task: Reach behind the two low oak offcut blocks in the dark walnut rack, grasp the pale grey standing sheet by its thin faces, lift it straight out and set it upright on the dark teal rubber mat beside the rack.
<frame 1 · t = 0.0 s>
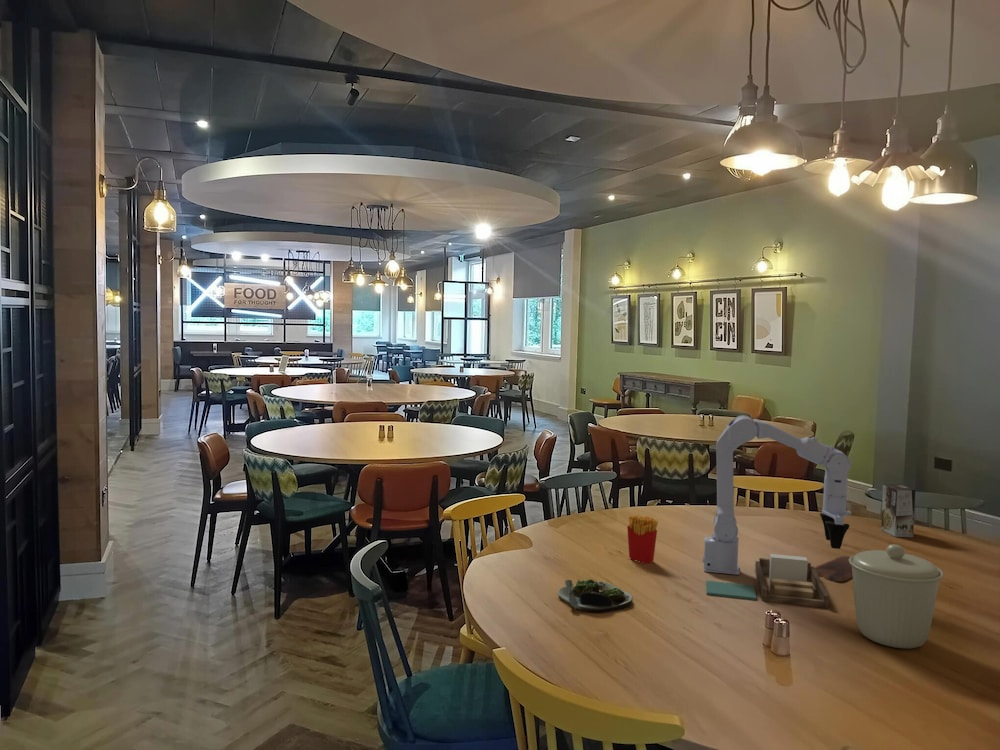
hand: (833, 544, 189), 10 cm above the table, tool pointing down, fingers open, 7 cm apart
french fries: (642, 560, 205), on the table
offcut block small: (792, 600, 176), resting in rack
grey sheet: (787, 584, 186), resting in rack
offcut block large: (791, 595, 179), resting in rack
salad plate: (594, 602, 173), on the table
coffee box: (896, 534, 236), on the table
mat: (730, 591, 181), on the table
wooden tablet: (842, 570, 200), on the table
canister: (891, 639, 154), on the table
rack: (789, 588, 183), on the table
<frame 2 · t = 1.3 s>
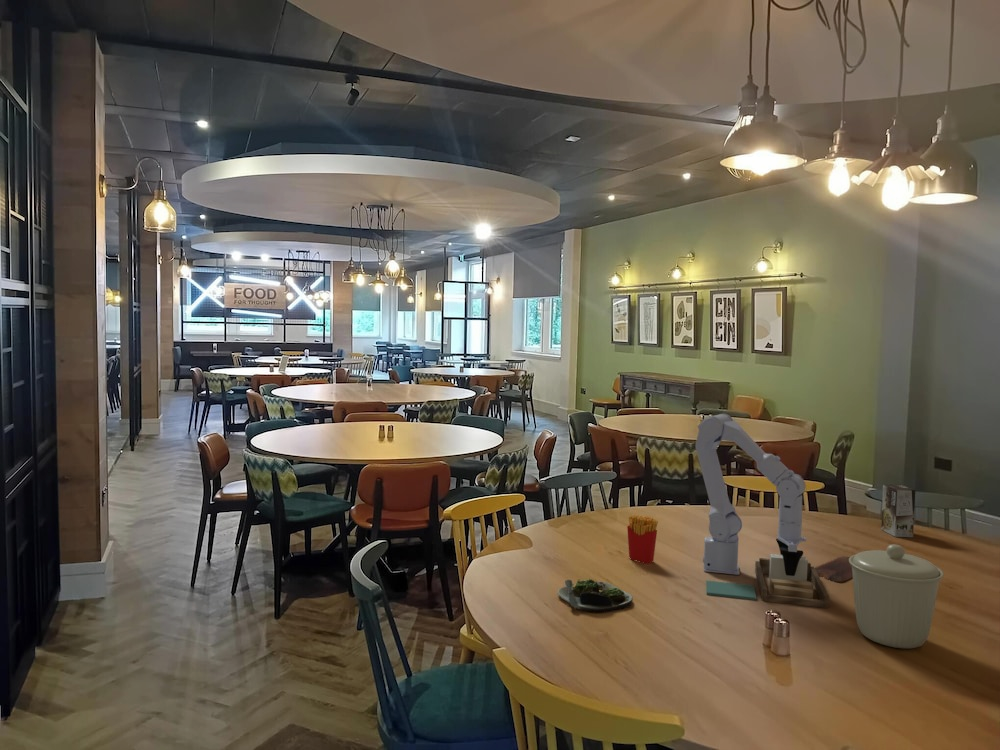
hand: (788, 570, 186), 4 cm above the table, tool pointing down, fingers open, 7 cm apart
nothing on the table moved.
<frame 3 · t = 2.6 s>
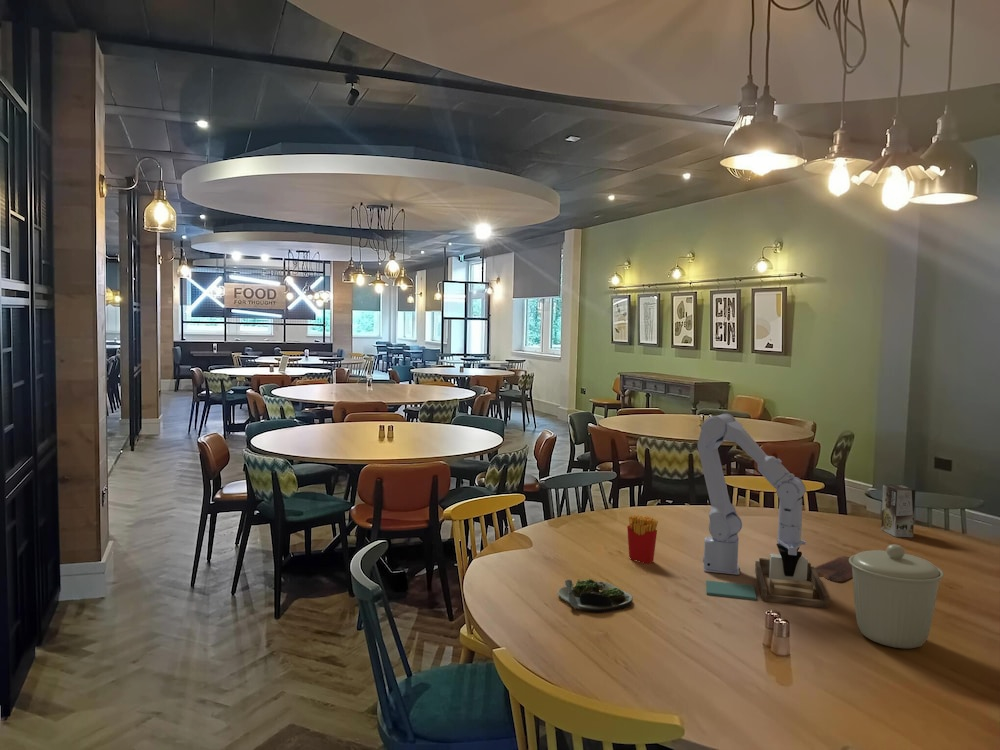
hand: (788, 573, 186), 3 cm above the table, tool pointing down, fingers closed on grey sheet, 3 cm apart
grey sheet: (787, 584, 186), resting in rack, touching gripper
everything else where it was.
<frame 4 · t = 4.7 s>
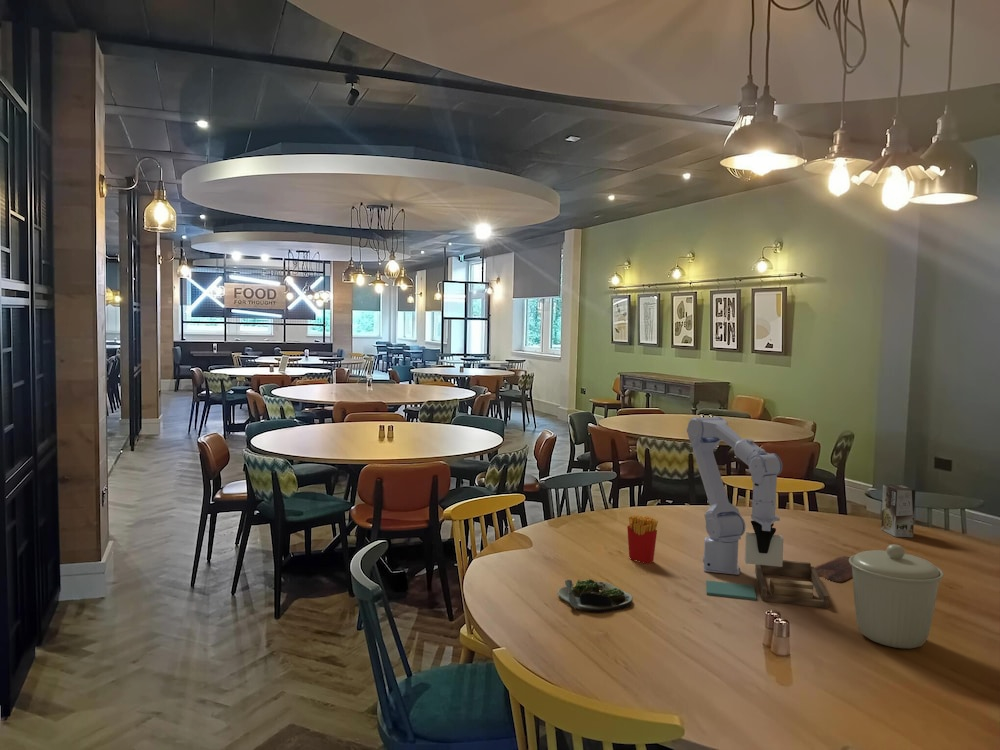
hand: (762, 550, 183), 10 cm above the table, tool pointing down, fingers closed on grey sheet, 3 cm apart
grey sheet: (763, 563, 183), point 7 cm above the table, touching gripper
everything else where it was.
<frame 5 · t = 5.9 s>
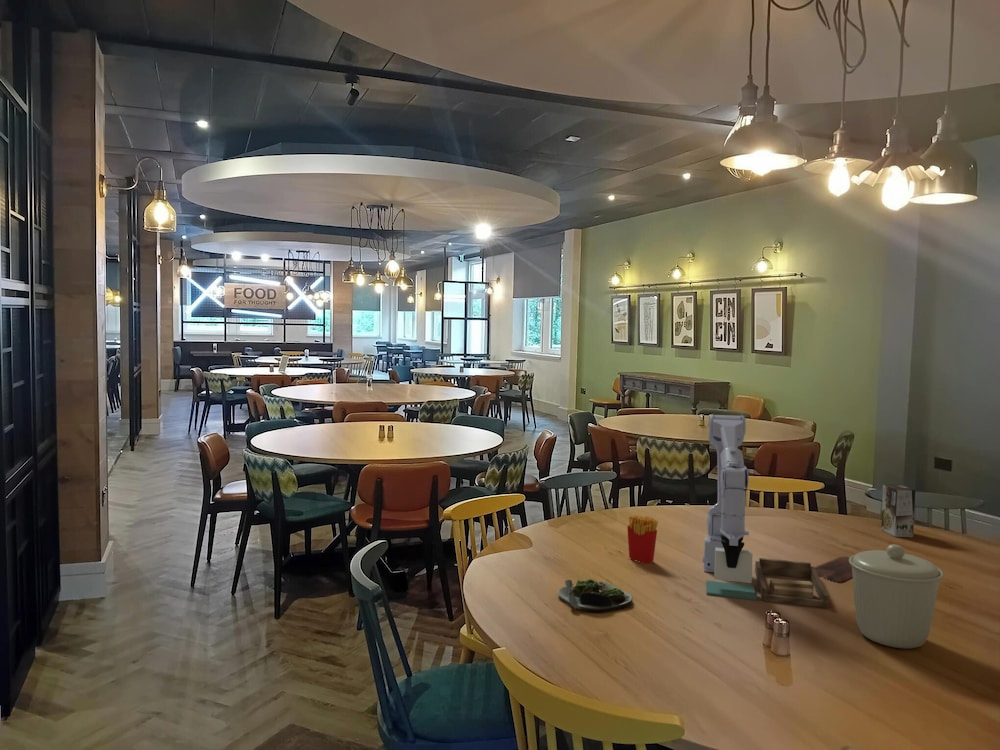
hand: (731, 565, 180), 7 cm above the table, tool pointing down, fingers closed on grey sheet, 3 cm apart
grey sheet: (732, 579, 180), point 3 cm above the table, touching gripper
everything else where it was.
when the fingers open (5 cm above the table, at t = 7.0 s): grey sheet stays where it is, resting on mat.
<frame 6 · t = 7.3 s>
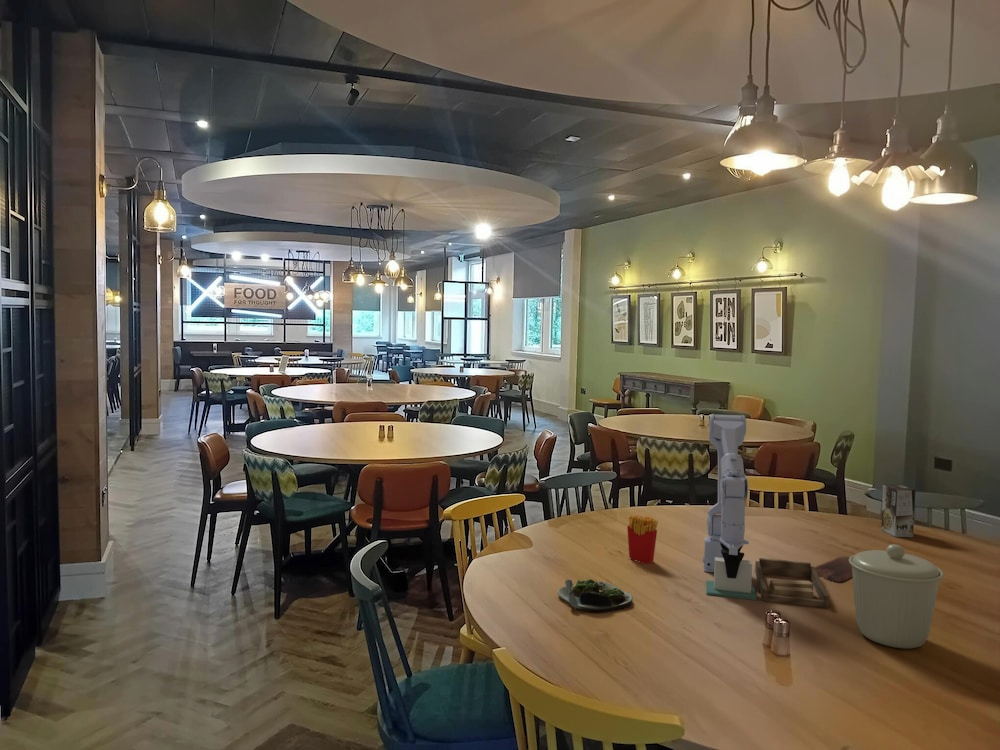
hand: (731, 574, 180), 5 cm above the table, tool pointing down, fingers open, 5 cm apart
grey sheet: (732, 589, 181), point 1 cm above the table, touching mat
everything else where it was.
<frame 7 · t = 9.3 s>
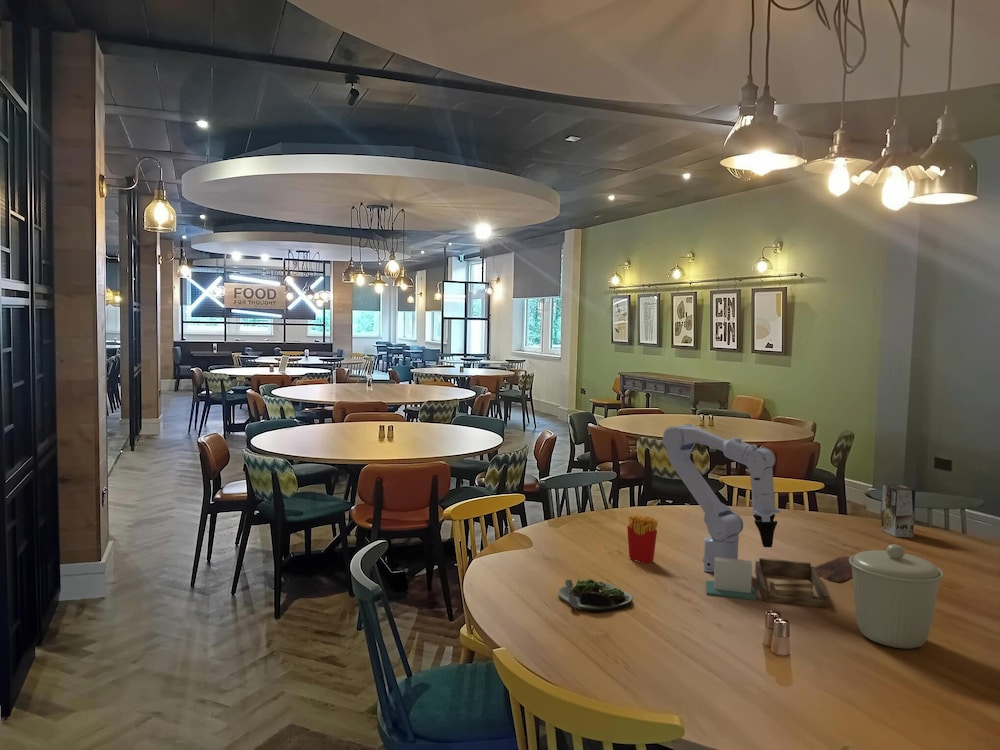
hand: (766, 543, 188), 10 cm above the table, tool pointing down, fingers open, 7 cm apart
nothing on the table moved.
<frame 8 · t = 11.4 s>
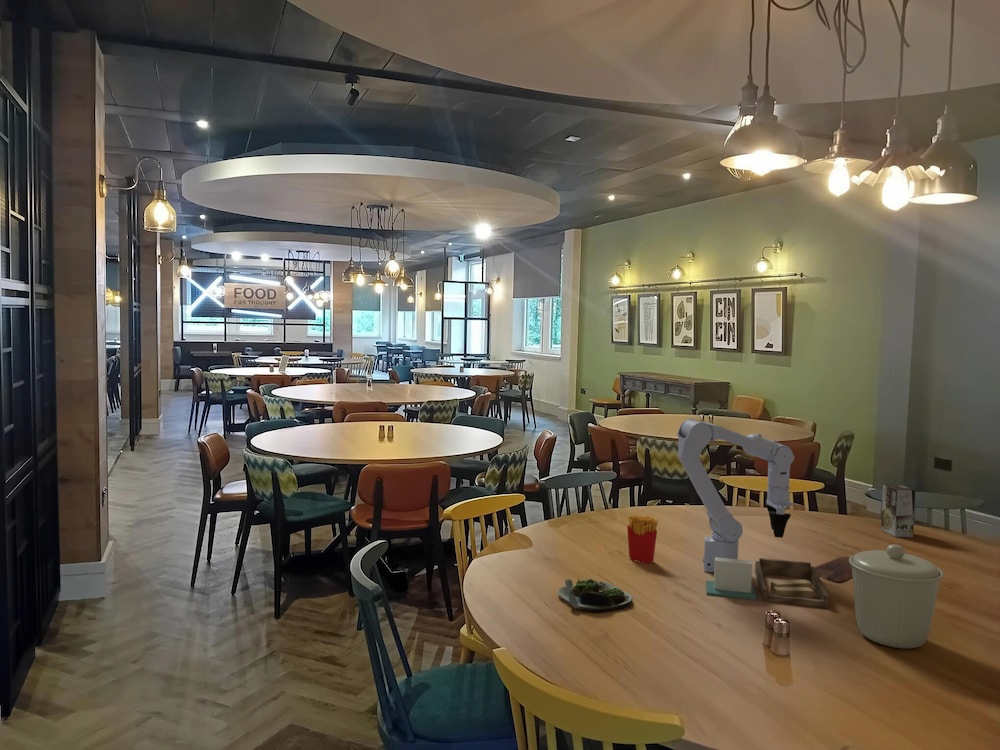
hand: (777, 533, 198), 10 cm above the table, tool pointing down, fingers open, 7 cm apart
at the end: grey sheet inside the target area on the mat (0.4 cm from its centre), point 0.6 cm above the mat's base; grey sheet tilted 0°; the gripper is holding nothing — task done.
